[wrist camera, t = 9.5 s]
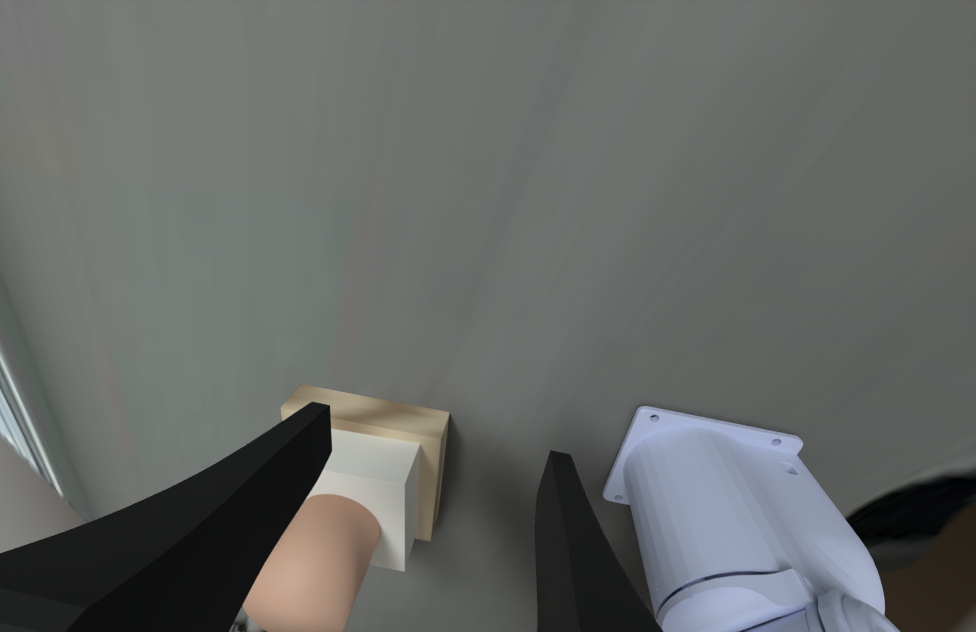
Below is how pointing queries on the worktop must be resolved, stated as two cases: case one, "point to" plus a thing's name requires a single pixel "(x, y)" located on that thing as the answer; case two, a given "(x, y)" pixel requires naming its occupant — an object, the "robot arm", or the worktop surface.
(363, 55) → the worktop surface
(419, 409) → the tower base
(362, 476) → the tower top
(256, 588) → the cylinder
